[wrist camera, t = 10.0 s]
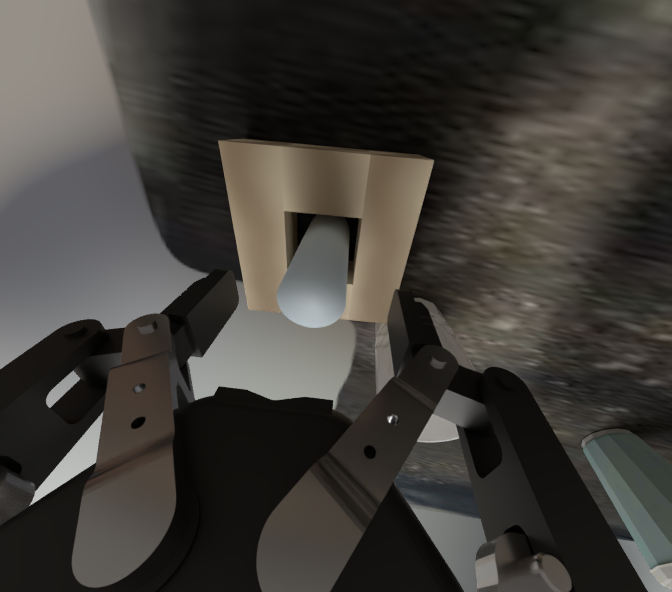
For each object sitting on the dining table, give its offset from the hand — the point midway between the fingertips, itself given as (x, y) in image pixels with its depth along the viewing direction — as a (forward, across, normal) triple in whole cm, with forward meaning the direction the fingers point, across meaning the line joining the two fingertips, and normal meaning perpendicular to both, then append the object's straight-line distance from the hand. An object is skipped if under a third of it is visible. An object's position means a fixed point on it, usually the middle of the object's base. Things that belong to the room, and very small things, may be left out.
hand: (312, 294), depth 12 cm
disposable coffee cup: (+10, -43, +27) cm, 52 cm away
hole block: (+10, 0, 0) cm, 10 cm away
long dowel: (+10, 0, 0) cm, 10 cm away
